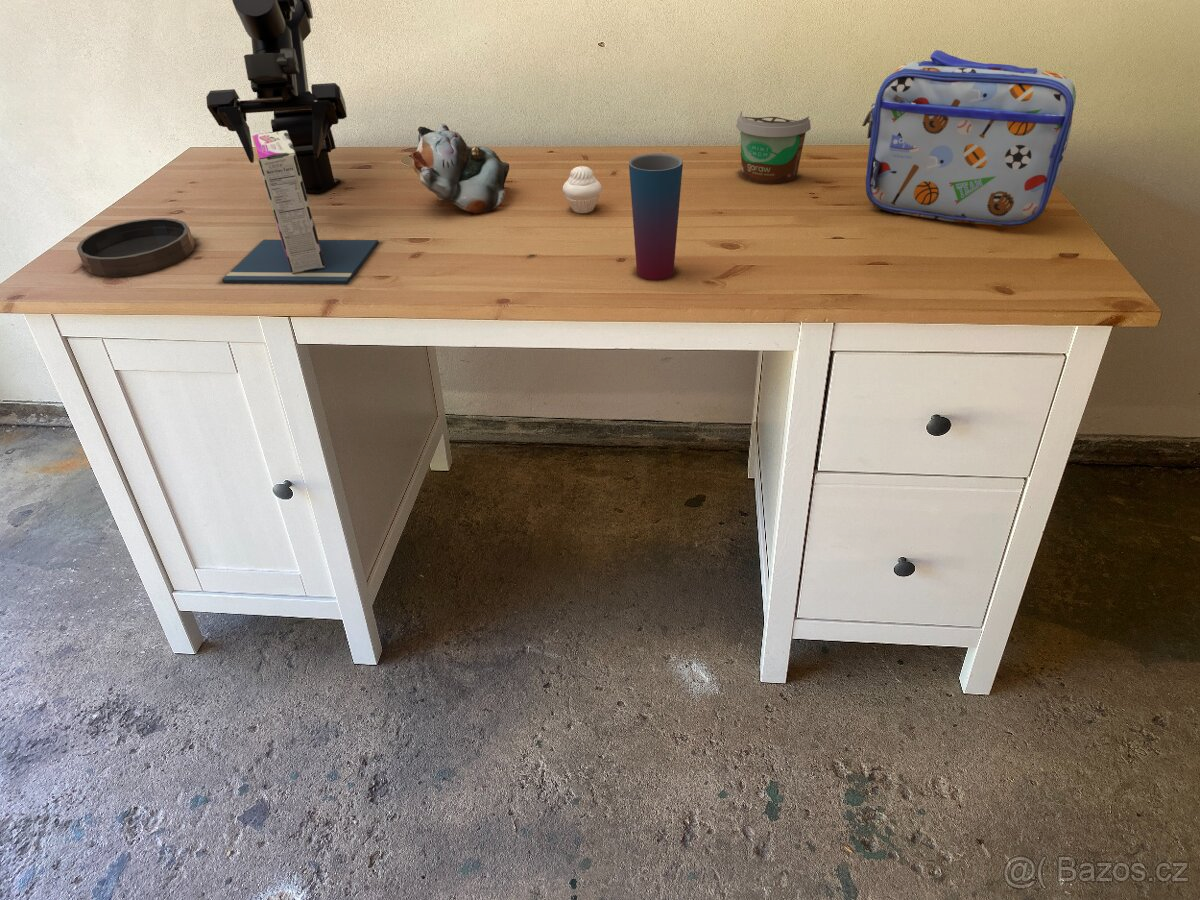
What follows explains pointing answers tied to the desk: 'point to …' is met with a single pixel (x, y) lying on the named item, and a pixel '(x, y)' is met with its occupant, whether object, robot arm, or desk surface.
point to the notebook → (274, 268)
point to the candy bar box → (288, 201)
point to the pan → (136, 247)
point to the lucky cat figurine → (459, 170)
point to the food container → (771, 147)
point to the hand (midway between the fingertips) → (283, 159)
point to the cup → (655, 212)
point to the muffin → (582, 190)
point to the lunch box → (968, 140)
